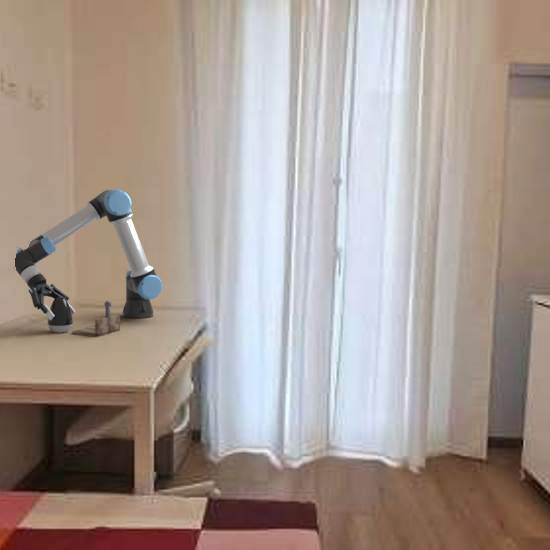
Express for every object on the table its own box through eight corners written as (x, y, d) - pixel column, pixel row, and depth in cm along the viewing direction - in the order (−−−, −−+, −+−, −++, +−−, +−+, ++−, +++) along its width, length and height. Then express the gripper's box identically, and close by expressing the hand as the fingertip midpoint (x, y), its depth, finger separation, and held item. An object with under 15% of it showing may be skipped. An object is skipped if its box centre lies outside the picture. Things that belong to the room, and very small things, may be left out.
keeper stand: (94, 328, 287) (94, 297, 286) (121, 330, 283) (121, 299, 281) (72, 334, 272) (71, 301, 271) (99, 336, 268) (99, 303, 266)
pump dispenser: (76, 330, 281) (76, 295, 280) (66, 334, 271) (66, 298, 270) (54, 329, 282) (53, 294, 281) (43, 333, 272) (43, 297, 271)
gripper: (48, 282, 292) (76, 317, 288) (8, 287, 268) (37, 325, 265) (58, 270, 290) (86, 306, 286) (18, 275, 266) (48, 314, 262)
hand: (63, 315), depth 275 cm, fingers open, 13 cm apart
